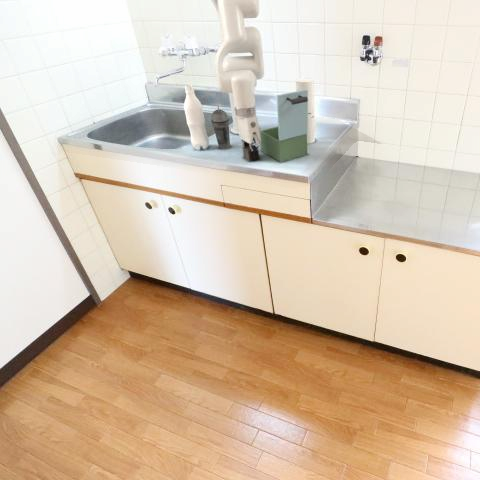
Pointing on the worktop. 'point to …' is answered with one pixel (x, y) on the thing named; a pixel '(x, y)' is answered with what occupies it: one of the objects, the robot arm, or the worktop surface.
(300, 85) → the cylindrical container
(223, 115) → the beverage cup
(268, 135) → the box
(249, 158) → the block
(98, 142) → the worktop surface
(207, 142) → the water bottle
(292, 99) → the grey lid with handle
